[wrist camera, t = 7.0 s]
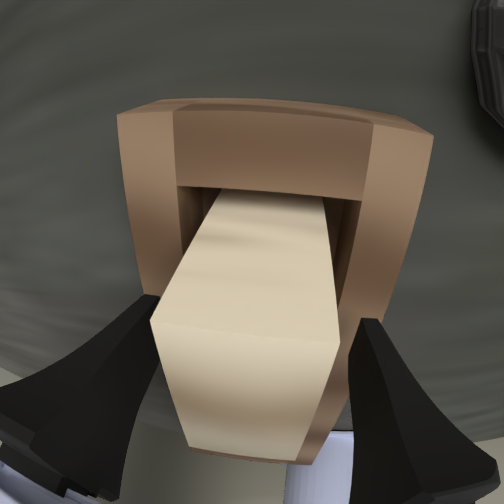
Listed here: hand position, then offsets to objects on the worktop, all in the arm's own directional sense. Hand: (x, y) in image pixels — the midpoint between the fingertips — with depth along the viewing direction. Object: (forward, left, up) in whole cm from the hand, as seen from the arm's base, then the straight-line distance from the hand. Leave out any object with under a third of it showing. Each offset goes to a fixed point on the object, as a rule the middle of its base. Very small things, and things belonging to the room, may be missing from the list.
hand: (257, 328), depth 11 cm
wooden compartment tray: (-5, 0, -6) cm, 8 cm away
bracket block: (0, 0, -5) cm, 4 cm away
